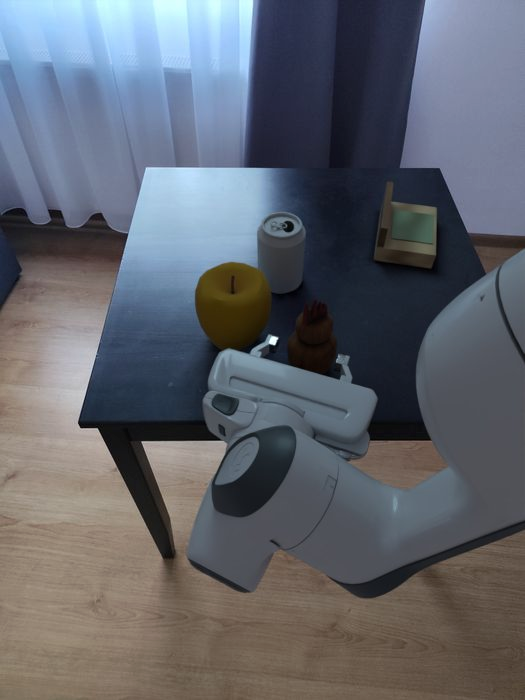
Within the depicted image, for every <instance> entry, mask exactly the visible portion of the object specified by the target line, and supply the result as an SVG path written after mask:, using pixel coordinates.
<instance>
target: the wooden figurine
mask: <svg viewBox="0 0 525 700" xmlns="http://www.w3.org/2000/svg"><path fill="white" fill-rule="evenodd" d="M311 304H312V305H311V307H310V306H309V305H310V304H309V302H308V301H305V302H304V304H303V311H302V312H301V313H300V314H299V315H298V317H297V318H296V319H295V320H296V321H295V326H294V327H295V328H294V329H295V330H294V331H293V332H292V334H291V335H290V336H289V338H288V339H287V343H286V354H287V360H288V363H289V366H292V367H296V368H299V369H303V370H306V371H310V372H313V373H317V374H320V375H324V374H326V373H327V372H328V371H329V370H330V369H331V367H332V365H333V363H334V362H335V359H336V356H337V352H338V351H337V350H338V341H337V337H336V335H335V333H334V332H333V330H334V319H333V317H332V315H331V314H330V313H329V311H328V305H327V303H326V301H325V302H322V301H321V300H320V301H318V299H317V298H314V299H313V301H312V303H311Z"/></svg>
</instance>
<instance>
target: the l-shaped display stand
mask: <svg viewBox="0 0 525 700" xmlns="http://www.w3.org/2000/svg"><path fill="white" fill-rule="evenodd" d="M393 191H394V182H393V181H387V182H386V184H385V189H384V194H383V198H382V202H381V208H380V211H379V217H378V224H377V225H378V226H377V232H376V239H375V247H374V254H373V261H377V262H383V263H384V262H385V263H392V264H397V265H404V266H411V267H417V268H425V269H432V268H433V265H434V262H435V260H436V257H437V226H438V225H437V221H438V220H437V219H438V207H435V206H428V205H422V204H413V203H406V202H398V201H392V200H393Z"/></svg>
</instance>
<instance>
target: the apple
mask: <svg viewBox="0 0 525 700" xmlns="http://www.w3.org/2000/svg"><path fill="white" fill-rule="evenodd" d="M194 307H195V314H196V317H197V320H198V322H199V326H200V328H201V329H202V331H203V333H204V334H205V336H206V337H207V338H208V339H209V341H210V342H211V343H212V344H213V345H214V346H215V347H217V348H218V349H219V350H221V351H223V350H226V349H233V350H237V351H242V350H244V349H246V348H247V347H249V346H251V345H252V344H254V342H256V340H257V339H258V338H259V337H260V336H261V335H262V333H263V332H264V330H265V329H266V327H267V325H268V323H269V320H270V316H271V313H272V312H271V310H272V292H271V290H270V286H269V284H268V282H267V279H266V277H265V275H264V273H262V272H261V271H260V270H259V269H258V267H255V266H252V265H250V264H247V263H244V262H238V261H228V262H222V263H220V264H218V265H215V266H214V267H211V268H209V269H207V270H206V271H204V272H203V273H202V275H200V277H199V278H198V282H197V284H196V287H195V290H194Z"/></svg>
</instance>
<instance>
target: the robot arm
mask: <svg viewBox="0 0 525 700" xmlns="http://www.w3.org/2000/svg"><path fill="white" fill-rule="evenodd" d="M279 346H280V336H277V335H274V334H270V333H268V335H267V336H266V338H265V340H264V342H262V343H260V344H258V345H256V346H255V347H253V348H252V349H251V351H249V353H247V352H244V351H241V350H239V351H237V350H233V349H226V350H221V351H219V352H218V354H217V356H216V357H215V360H214V362H213V365H212V367H211V369H210V372H209V374H208V379H207V388H208V392H206V394H205V395H204V396H203V398H202V413H203V418H204V421H205V424H206V427H207V430H208V431H209V432H210V433H212V435H214V436H216V437H217V438H219V439H220V440H221V441H223V442H224V443H225V444H226V446H225V452H224V455H223V457H222V459H221V461H220V464H219V465H218V467H217V470H216V472H215V474H213V475H212V477H211V479H210V481H209V483H208V486H207V488H206V490H205V493H204V495H203V498H202V500H201V503H200V505H199V507H198V511H197V513H196V516H195V519H194V522H193V524H192V528H191V531H190V535H189V538H188V542H187V546H186V551H185V557H186V559H187V561H188V562H189V565H191V566H192V567H193V568H194V569H195V570H197V571H198V572H200V573H202V574H204V575H205V576H208V577H210V578H212V579H213V580H215V581H217V582H219V583H221V584H223V585H225V586H226V587H228V588H230V589H232V590H234V591H236V592H239V593H242V594H247V593H248V594H249V593H254V592H255V591H256V589H257V588H258V587H259V586H260V583H261V581H262V579H263V578H264V575H265V574H266V572H267V570H268V567H269V565H270V563H271V561H272V559H273V557H274V554H275V553H276V552H279V551H280V550H282V551H283V552H285V553H286V554H288V555H290V556H291V557H294V558H295V559H298V560H299V561H301V562H303V563H304V564H306V565H308V566H309V567H311V568H313V569H314V570H316V571H319V572H320V573H321V574H323V575H325V576H326V577H327V578H329V579H330V580H331V581H332V582H333V583H336V584H337V585H338V586H339V587H342V588H343V589H344V590H345V591H347V592H348V593H350V594H351V595H352V596H355V597H357V598H360V599H376V598H379V597H381V596H382V597H383V596H384V595H386V594H388V593H390V592H392V591H394V590H396V589H397V588H398V587H400V586H402V585H403V584H404V583H405V582H407V581H408V580H409V579H410V578H412V577H413V576H415V575H416V574H418V573H420V572H421V571H423V570H426V569H427V568H429V567H431V566H434V565H436V564H438V563H439V564H440V563H441V562H444V561H447V560H449V559H452V558H454V557H458V556H460V555H462V554H466V553H468V552H472V551H473V550H476V549H479V548H482V547H484V546H485V547H486V546H487V545H490V544H492V543H493V544H494V543H495V542H498V541H500V540H503V539H505V538H508V537H511V536H514V535H516V534H518V533H521V532H523V531H525V248H523V249H521V250H520V251H519V252H517V253H516V254H514V255H513V256H511V257H509V258H508V259H507V260H505V261H504V262H502V263H501V264H499V265H498V266H497V267H495V268H494V269H492V270H491V271H490V272H488V273H487V274H485V275H484V276H482V277H481V278H479V279H478V280H477V281H475V282H474V283H472V284H471V285H470V286H468V287H467V288H466V289H464V290H463V291H461V292H460V293H459V294H458V295H457V296H456V297H455V298H454V299H453V300H451V301H450V302H449V303H448V304H447V305H446V306H445V307H444V308H443V309H442V310H441V311H440V312H439V313H438V314H437V315H436V317H435V318H434V319H433V320H432V322H430V324H429V326H428V328H427V330H426V332H425V334H424V335H423V338H422V341H421V343H420V347H419V349H418V354H417V359H416V366H415V390H416V396H417V401H418V407H419V411H420V415H421V418H422V420H423V423H424V424H423V425H424V427H425V429H426V431H427V434H428V436H429V439H430V440H431V442H432V444H433V447H434V448H435V449H436V451H437V452H438V455H439V456H440V457H441V458H442V459H443V461H444V462H445V464H447V466H446V467H444V468H443V469H441V470H439V471H438V472H436V473H435V474H433V475H431V476H429V477H428V478H427V479H424V480H423V481H421V482H419V483H417V484H416V485H414V486H412V487H410V488H407V489H405V488H400V487H396V486H393V485H390V484H387V483H385V482H382V481H381V480H378V479H376V478H374V477H373V476H370V475H369V474H368V473H366V472H364V471H363V470H361V469H359V468H358V467H357V466H355V465H353V464H352V463H350V462H351V461H356V460H360V459H363V458H364V457H365V456H366V455H367V453H368V450H369V447H370V443H371V437H370V434H369V432H368V429H369V426H370V425H371V421H372V419H373V416H374V413H375V410H376V407H377V404H378V400H379V398H378V396H377V394H376V392H375V391H374V389H372V388H369V387H365V386H361V385H358V384H355V383H352V381H353V375H352V373H351V370H350V367H349V363H350V358H351V356H350V355H347V354H344V353H337V357H336V360H335V364H334V368H333V369H334V372H338V373H340V378H339V379H337V378H335V377H330V376H327V375H324V374H323V375H320V374H317V373H313V372H310V371H306V370H303V369H299V368H296V367H292V366H291V365H290V364H289V365H288V364H285V363H282V362H279V361H275V360H272V359H268V358H264V357H265V356H266V355H268V354H270V353H271V354H274V355H275V354H276V353H277V350H278V348H279Z"/></svg>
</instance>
